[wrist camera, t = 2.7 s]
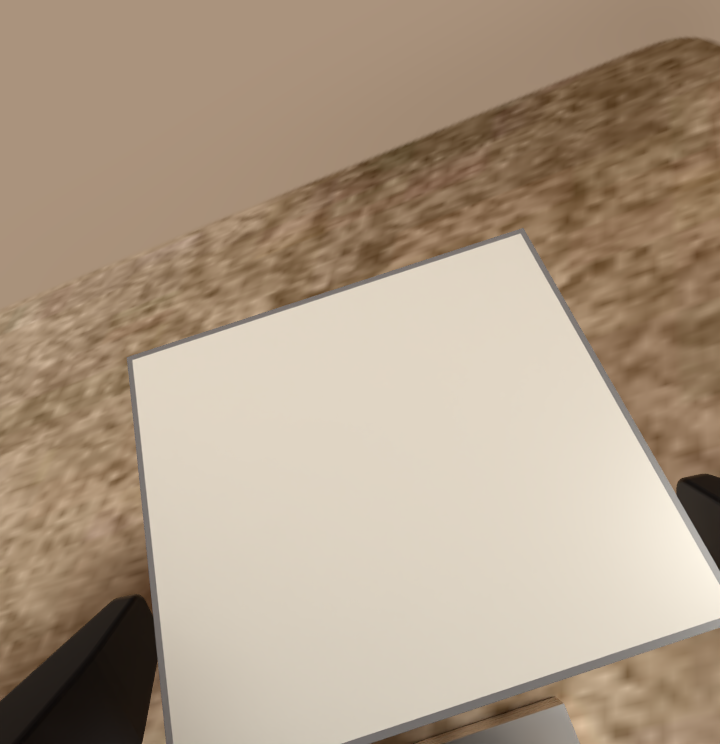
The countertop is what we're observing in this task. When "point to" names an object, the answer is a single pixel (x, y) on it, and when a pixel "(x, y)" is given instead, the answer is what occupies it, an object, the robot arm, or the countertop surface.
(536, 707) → the socket plate
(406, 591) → the plug block
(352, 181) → the countertop surface
